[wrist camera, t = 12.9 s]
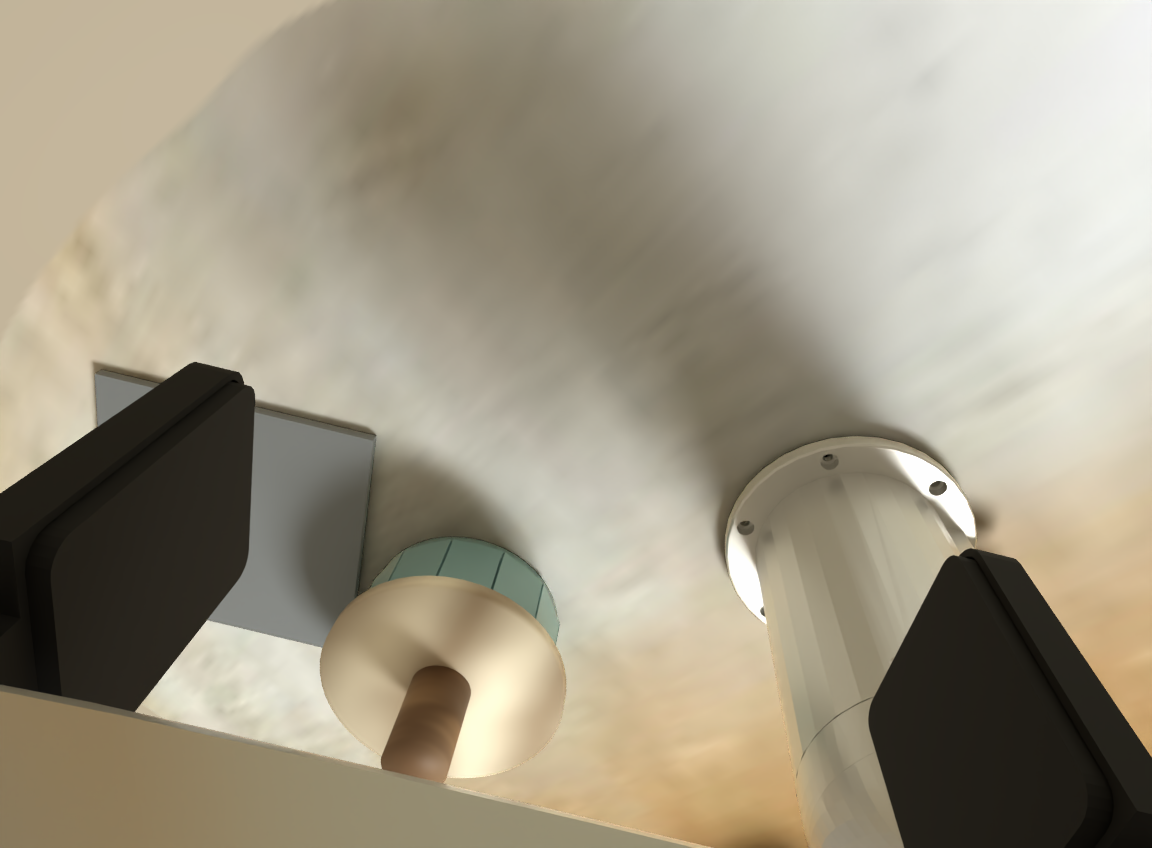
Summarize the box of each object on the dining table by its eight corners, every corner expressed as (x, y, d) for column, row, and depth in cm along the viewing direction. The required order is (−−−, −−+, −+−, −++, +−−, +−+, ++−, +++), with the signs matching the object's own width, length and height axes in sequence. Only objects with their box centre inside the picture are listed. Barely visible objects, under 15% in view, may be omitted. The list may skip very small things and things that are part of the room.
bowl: (575, 562, 45) (565, 620, 41) (537, 703, 50) (525, 769, 46) (384, 517, 45) (353, 569, 41) (365, 662, 50) (336, 724, 46)
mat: (376, 435, 43) (372, 440, 42) (351, 646, 50) (347, 653, 49) (101, 369, 43) (94, 373, 42) (113, 589, 49) (107, 596, 49)
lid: (589, 609, 40) (578, 697, 35) (541, 785, 46) (525, 884, 41) (335, 550, 40) (285, 629, 35) (319, 733, 46) (273, 826, 41)
